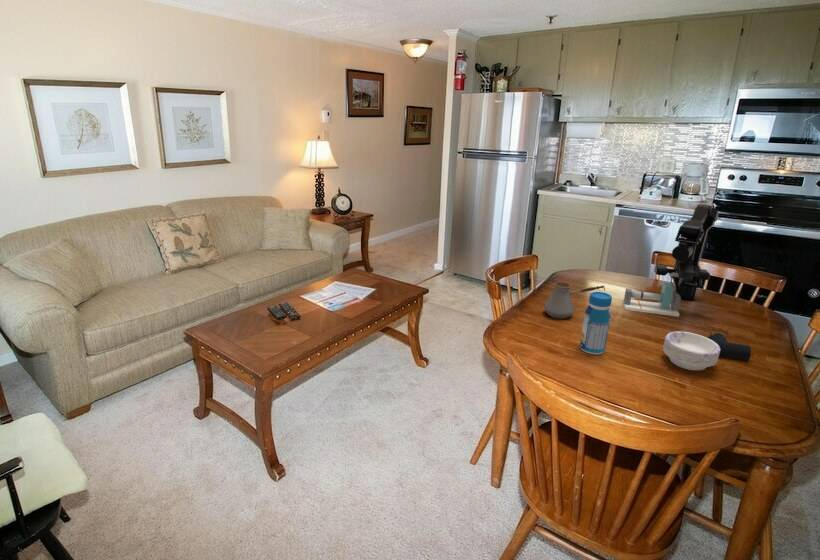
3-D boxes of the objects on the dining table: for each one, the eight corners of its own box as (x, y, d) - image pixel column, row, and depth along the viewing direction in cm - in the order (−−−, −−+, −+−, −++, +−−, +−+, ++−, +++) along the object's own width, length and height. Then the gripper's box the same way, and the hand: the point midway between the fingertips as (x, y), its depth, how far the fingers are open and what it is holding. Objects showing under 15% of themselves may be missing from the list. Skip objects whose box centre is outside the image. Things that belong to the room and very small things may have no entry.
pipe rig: (674, 307, 190) (677, 292, 188) (678, 316, 181) (682, 300, 179) (622, 301, 196) (625, 286, 194) (624, 309, 187) (627, 293, 185)
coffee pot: (541, 317, 179) (545, 281, 174) (546, 307, 189) (550, 273, 184) (598, 328, 170) (605, 291, 165) (600, 316, 180) (607, 281, 175)
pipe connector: (693, 326, 161) (742, 334, 156) (689, 339, 163) (738, 347, 158) (698, 340, 151) (752, 349, 146) (695, 354, 153) (747, 363, 148)
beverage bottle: (593, 357, 149) (602, 301, 142) (573, 346, 156) (581, 292, 149) (610, 352, 153) (620, 297, 146) (590, 341, 160) (599, 288, 153)
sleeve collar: (666, 302, 189) (671, 282, 186) (669, 307, 183) (674, 287, 180) (658, 301, 190) (663, 281, 187) (661, 306, 184) (665, 286, 181)
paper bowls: (715, 381, 136) (721, 357, 134) (658, 366, 144) (663, 344, 141) (714, 360, 149) (720, 338, 146) (662, 347, 156) (667, 327, 154)
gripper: (662, 258, 174) (654, 296, 179) (718, 263, 168) (708, 302, 173) (657, 250, 184) (650, 286, 189) (710, 255, 178) (701, 292, 183)
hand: (676, 292), depth 183 cm, fingers closed
